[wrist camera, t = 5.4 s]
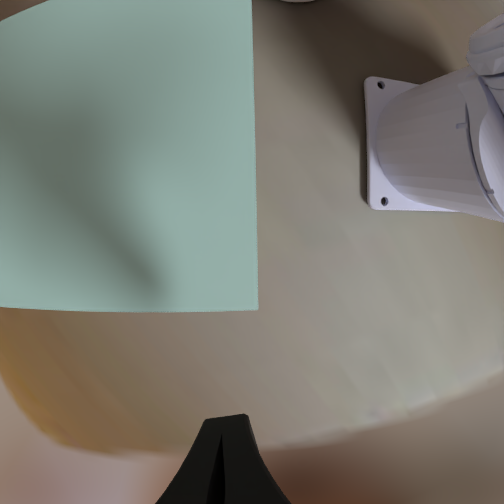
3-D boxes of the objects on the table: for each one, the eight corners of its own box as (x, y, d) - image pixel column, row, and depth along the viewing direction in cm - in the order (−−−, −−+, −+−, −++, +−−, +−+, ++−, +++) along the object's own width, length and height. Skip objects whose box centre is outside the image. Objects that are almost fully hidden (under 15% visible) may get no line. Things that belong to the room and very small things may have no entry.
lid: (249, -28, 10) (250, -34, 10) (257, 304, 14) (258, 310, 13) (-11, 32, 10) (-17, 29, 9) (-9, 301, 13) (-15, 305, 13)
